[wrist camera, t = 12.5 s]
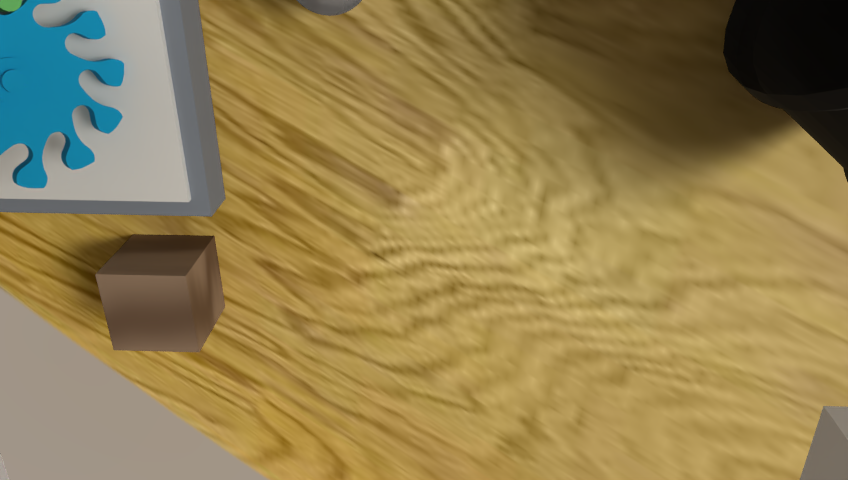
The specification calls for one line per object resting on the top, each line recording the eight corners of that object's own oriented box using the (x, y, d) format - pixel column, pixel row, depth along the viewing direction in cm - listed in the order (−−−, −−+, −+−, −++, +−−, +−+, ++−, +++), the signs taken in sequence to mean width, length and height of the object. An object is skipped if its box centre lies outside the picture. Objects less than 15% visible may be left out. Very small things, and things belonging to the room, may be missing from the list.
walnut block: (133, 233, 42) (95, 274, 38) (214, 235, 42) (185, 276, 38) (148, 304, 45) (113, 349, 40) (225, 305, 44) (199, 352, 40)
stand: (-90, -153, 33) (-136, -157, 31) (176, -154, 33) (152, -157, 30) (9, 194, 41) (-21, 214, 39) (225, 198, 41) (209, 219, 38)
